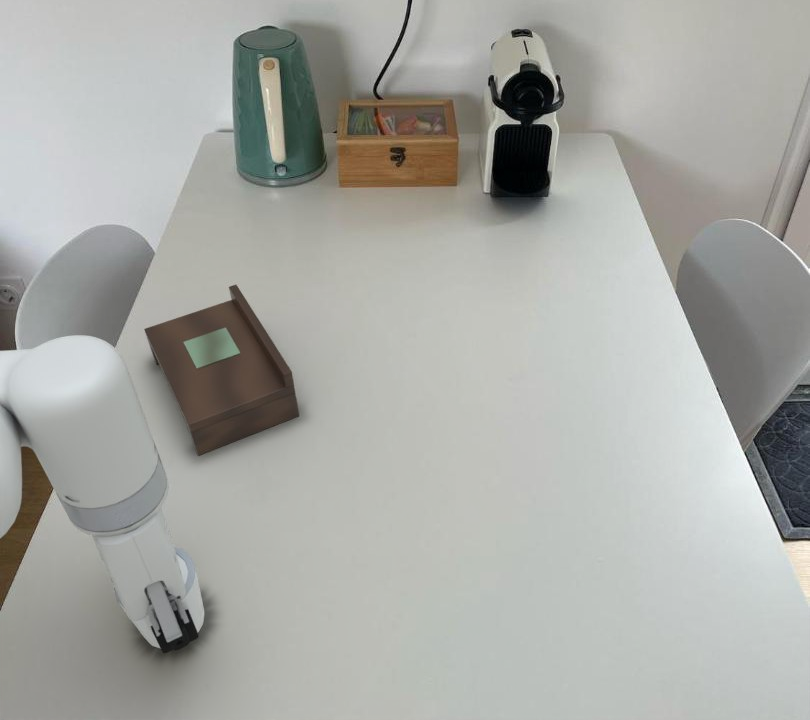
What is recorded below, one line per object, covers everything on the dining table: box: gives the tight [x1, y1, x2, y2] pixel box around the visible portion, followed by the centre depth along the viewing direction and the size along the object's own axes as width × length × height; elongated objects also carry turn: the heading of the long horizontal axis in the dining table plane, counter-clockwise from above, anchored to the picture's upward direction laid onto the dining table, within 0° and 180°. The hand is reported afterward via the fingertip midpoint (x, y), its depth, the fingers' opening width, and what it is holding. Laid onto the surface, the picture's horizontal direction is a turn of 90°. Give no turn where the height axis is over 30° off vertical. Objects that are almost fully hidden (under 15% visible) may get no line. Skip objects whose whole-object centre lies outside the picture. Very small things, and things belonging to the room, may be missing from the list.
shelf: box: [144, 284, 300, 456], centre depth 94 cm, size 12×18×7 cm, turn 28°
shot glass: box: [113, 546, 206, 650], centre depth 72 cm, size 7×7×7 cm
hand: (168, 608), depth 72 cm, fingers closed on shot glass, 6 cm apart
